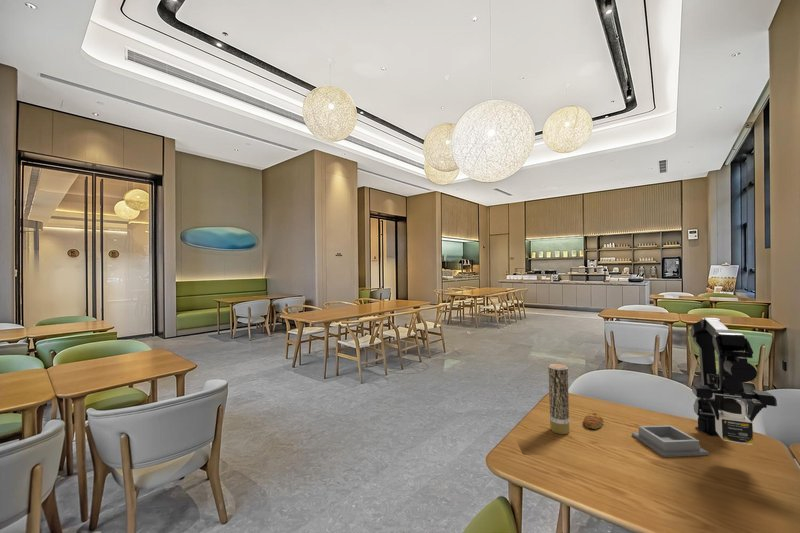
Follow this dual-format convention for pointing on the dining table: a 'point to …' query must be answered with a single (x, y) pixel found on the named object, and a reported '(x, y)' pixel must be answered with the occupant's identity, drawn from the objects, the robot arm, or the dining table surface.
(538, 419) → the dining table surface
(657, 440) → the bottle caddy
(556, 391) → the bark-patterned cylinder
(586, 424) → the pastry
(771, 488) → the dining table surface
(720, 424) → the medicine bottle
